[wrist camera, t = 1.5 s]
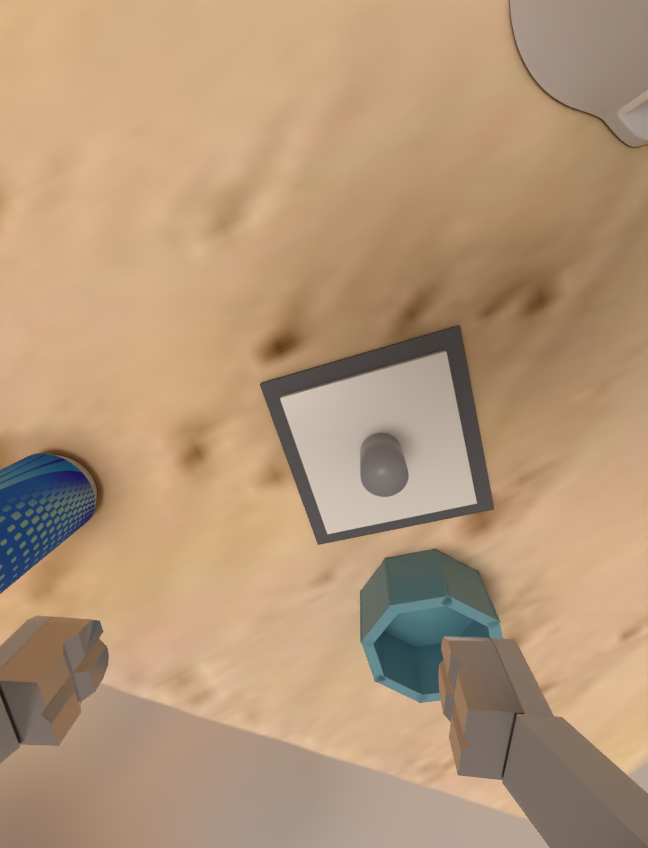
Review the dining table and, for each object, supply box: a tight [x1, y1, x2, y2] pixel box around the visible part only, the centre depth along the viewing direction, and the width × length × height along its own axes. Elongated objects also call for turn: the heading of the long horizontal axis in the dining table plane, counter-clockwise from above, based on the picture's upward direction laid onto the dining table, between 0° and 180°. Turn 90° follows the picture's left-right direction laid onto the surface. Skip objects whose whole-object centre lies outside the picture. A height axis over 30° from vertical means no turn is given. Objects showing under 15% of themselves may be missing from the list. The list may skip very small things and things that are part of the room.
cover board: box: [280, 350, 477, 534], centre depth 30 cm, size 14×14×5 cm
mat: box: [260, 326, 494, 545], centre depth 33 cm, size 17×17×1 cm
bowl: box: [360, 549, 503, 703], centre depth 35 cm, size 12×12×6 cm
